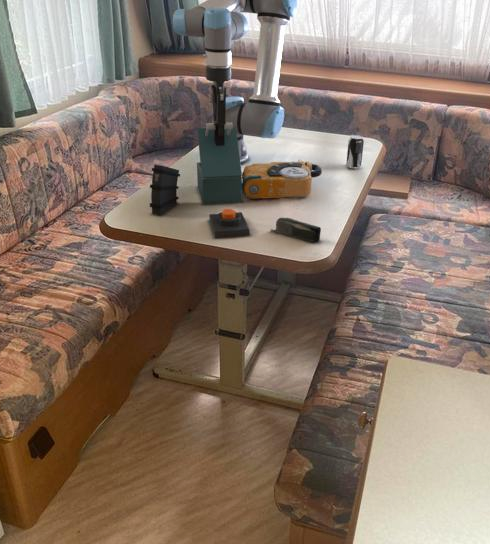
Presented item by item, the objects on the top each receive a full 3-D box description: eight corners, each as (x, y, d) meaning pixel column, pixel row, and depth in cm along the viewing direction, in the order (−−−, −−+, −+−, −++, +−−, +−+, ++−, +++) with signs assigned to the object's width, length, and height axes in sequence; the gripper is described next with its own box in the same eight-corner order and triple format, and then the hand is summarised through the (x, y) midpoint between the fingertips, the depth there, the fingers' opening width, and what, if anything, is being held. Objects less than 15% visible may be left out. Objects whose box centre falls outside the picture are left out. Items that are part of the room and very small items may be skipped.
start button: (221, 214, 171) (220, 209, 170) (234, 213, 172) (234, 208, 171) (223, 220, 168) (223, 214, 167) (236, 219, 169) (236, 214, 168)
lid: (196, 129, 184) (198, 117, 176) (235, 128, 187) (239, 116, 179) (202, 178, 182) (204, 168, 174) (241, 176, 185) (245, 166, 177)
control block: (209, 220, 176) (209, 208, 174) (241, 218, 178) (241, 206, 176) (215, 238, 166) (214, 225, 164) (249, 235, 168) (249, 223, 166)
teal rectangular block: (197, 186, 199) (196, 162, 194) (233, 184, 202) (233, 160, 197) (203, 204, 186) (202, 179, 181) (241, 202, 189) (241, 177, 184)
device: (236, 155, 204) (319, 154, 208) (236, 177, 208) (317, 175, 213) (242, 178, 185) (333, 176, 189) (242, 202, 189) (331, 199, 193)
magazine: (144, 213, 175) (152, 164, 173) (165, 215, 187) (173, 169, 186) (155, 215, 174) (163, 165, 172) (175, 217, 186) (183, 171, 185)
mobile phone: (322, 225, 165) (274, 213, 170) (318, 229, 163) (270, 217, 167) (320, 240, 167) (273, 228, 172) (316, 245, 165) (269, 232, 170)
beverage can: (348, 163, 225) (351, 133, 219) (362, 165, 224) (365, 135, 218) (344, 168, 221) (347, 137, 215) (359, 170, 219) (362, 139, 213)
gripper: (202, 61, 175) (204, 137, 187) (208, 71, 162) (210, 152, 174) (226, 61, 177) (227, 136, 188) (235, 71, 164) (235, 151, 176)
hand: (219, 143), depth 181 cm, fingers closed on lid, 2 cm apart
